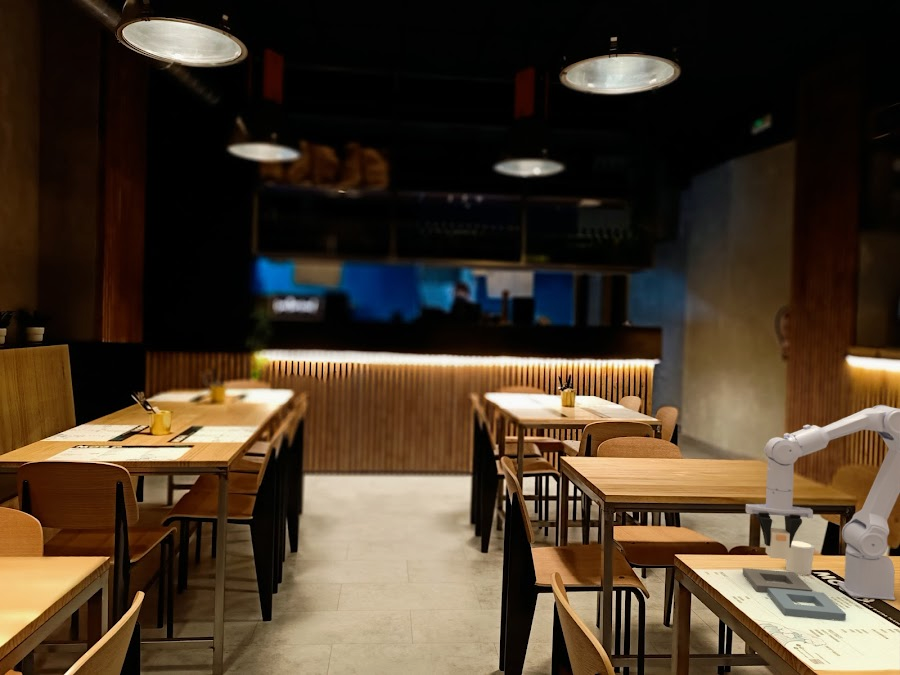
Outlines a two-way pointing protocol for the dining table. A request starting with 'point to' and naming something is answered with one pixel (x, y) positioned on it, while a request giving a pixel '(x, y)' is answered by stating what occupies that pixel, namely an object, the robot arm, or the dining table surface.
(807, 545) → the cream tapered cup
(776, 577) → the socket
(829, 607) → the socket
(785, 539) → the plug
